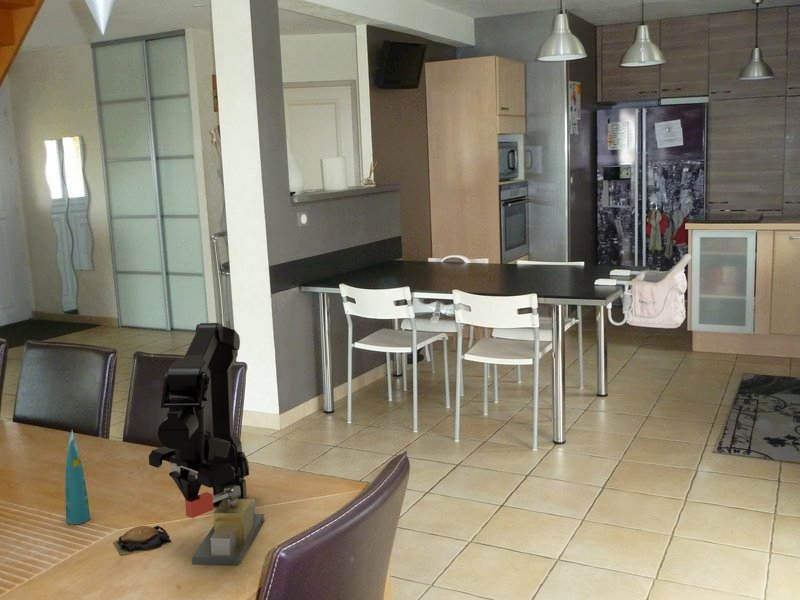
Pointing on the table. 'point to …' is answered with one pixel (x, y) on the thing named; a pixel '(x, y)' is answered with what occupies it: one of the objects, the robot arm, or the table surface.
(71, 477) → the tube
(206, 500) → the valve lever
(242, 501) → the valve stand
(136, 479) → the table surface
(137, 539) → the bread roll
